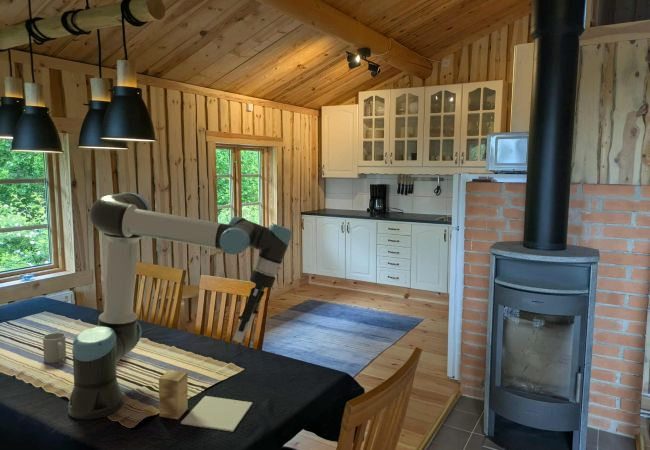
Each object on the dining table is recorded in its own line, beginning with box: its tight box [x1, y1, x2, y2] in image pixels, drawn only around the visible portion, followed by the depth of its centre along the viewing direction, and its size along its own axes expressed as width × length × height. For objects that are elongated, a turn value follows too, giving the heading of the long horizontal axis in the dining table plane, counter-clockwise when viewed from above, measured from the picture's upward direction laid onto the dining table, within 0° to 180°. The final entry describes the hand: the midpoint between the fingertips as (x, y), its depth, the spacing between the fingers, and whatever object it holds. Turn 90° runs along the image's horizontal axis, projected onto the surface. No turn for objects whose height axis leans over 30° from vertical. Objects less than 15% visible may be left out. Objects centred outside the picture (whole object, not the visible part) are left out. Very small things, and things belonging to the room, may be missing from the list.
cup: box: [42, 332, 67, 364], centre depth 176 cm, size 7×10×9 cm
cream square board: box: [180, 395, 253, 433], centre depth 144 cm, size 16×16×1 cm
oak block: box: [158, 369, 189, 420], centre depth 143 cm, size 6×6×12 cm
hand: (240, 336), depth 149 cm, fingers open, 13 cm apart
